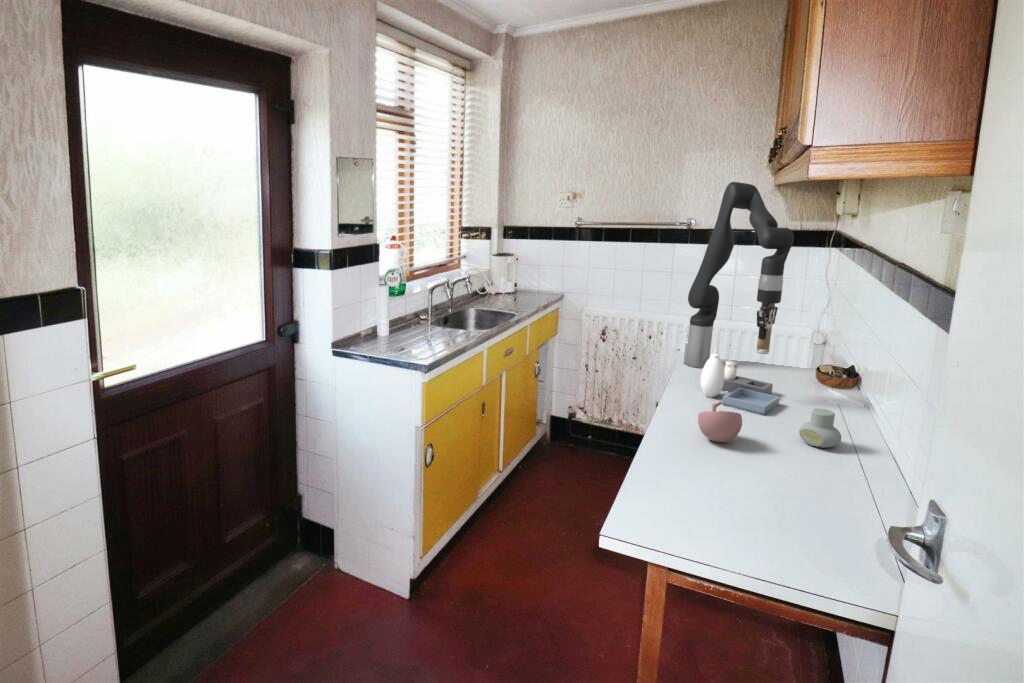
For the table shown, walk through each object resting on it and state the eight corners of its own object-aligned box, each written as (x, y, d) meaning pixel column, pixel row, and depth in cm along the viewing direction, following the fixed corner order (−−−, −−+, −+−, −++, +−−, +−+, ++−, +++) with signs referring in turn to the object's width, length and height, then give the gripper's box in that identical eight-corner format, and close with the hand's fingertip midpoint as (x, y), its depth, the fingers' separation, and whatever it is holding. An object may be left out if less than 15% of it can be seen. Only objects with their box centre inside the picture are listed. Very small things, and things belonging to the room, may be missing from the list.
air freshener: (792, 440, 181) (797, 407, 179) (809, 435, 185) (814, 403, 183) (827, 454, 172) (833, 420, 170) (844, 448, 176) (850, 415, 174)
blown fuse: (754, 352, 212) (757, 324, 210) (758, 350, 215) (761, 322, 213) (766, 354, 210) (769, 325, 207) (770, 352, 213) (773, 324, 210)
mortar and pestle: (732, 433, 184) (736, 396, 182) (745, 449, 173) (750, 411, 170) (691, 431, 185) (695, 395, 182) (701, 447, 173) (706, 409, 170)
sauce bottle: (698, 398, 215) (704, 348, 210) (699, 391, 222) (704, 343, 217) (722, 401, 212) (728, 350, 208) (721, 394, 220) (727, 345, 215)
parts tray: (722, 404, 209) (723, 396, 208) (738, 395, 219) (739, 387, 219) (763, 415, 200) (765, 406, 199) (778, 405, 210) (780, 397, 210)
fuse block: (712, 388, 226) (713, 377, 225) (722, 383, 233) (724, 372, 232) (762, 400, 215) (763, 389, 214) (771, 394, 222) (772, 383, 221)
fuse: (720, 388, 227) (723, 361, 225) (725, 385, 230) (728, 359, 228) (731, 390, 224) (734, 364, 222) (735, 388, 227) (739, 362, 225)
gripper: (766, 285, 215) (760, 333, 219) (751, 288, 204) (745, 339, 208) (788, 287, 210) (782, 336, 214) (774, 291, 200) (768, 343, 203)
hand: (764, 337), depth 211 cm, fingers closed on blown fuse, 4 cm apart
